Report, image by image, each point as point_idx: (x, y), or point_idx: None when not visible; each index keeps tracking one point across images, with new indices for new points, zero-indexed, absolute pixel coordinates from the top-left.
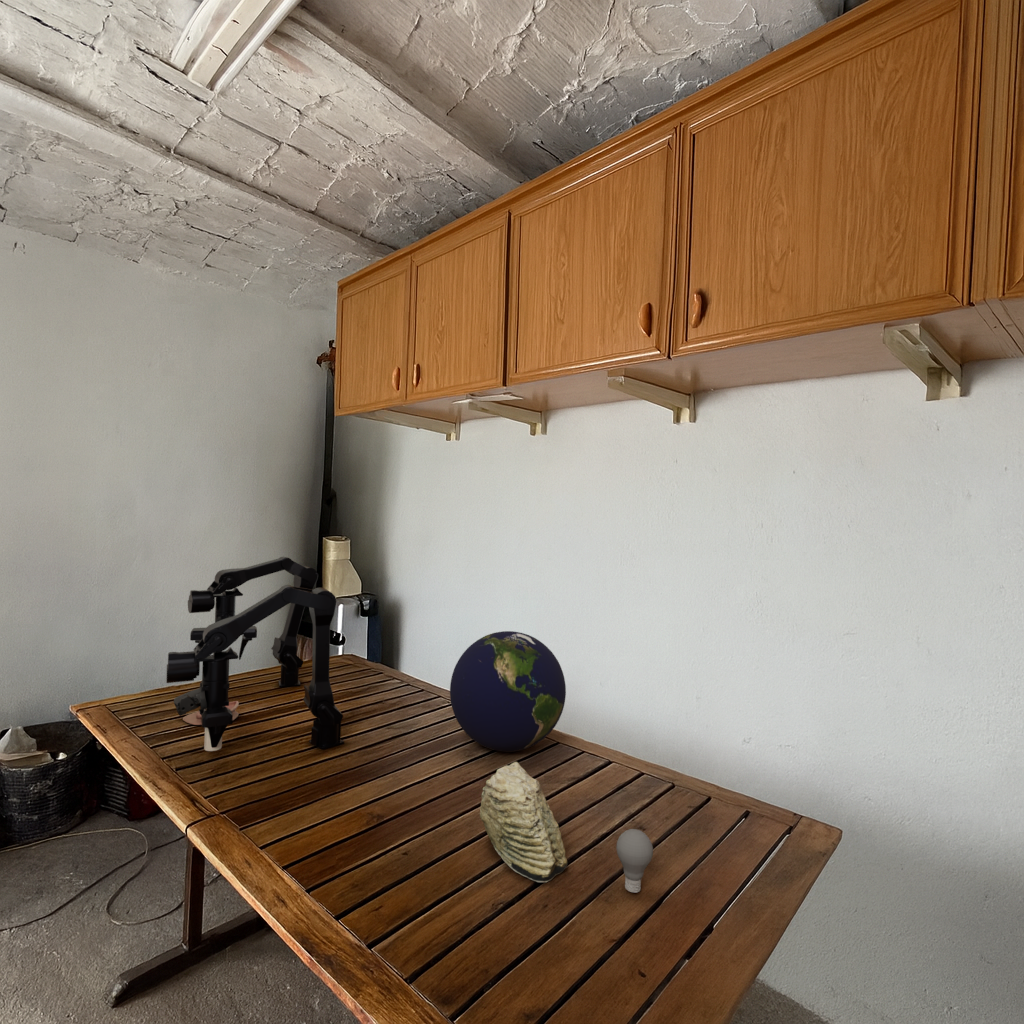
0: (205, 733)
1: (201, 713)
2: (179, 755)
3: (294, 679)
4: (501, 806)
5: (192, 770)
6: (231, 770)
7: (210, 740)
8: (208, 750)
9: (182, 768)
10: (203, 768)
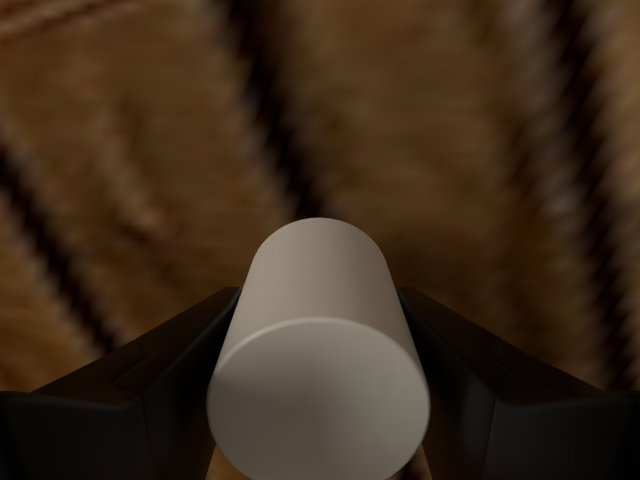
0: (276, 295)
1: (614, 424)
2: (534, 15)
3: None
4: None
5: (178, 104)
6: (109, 331)
7: (182, 312)
8: (259, 249)
9: (241, 31)
10: (192, 179)
